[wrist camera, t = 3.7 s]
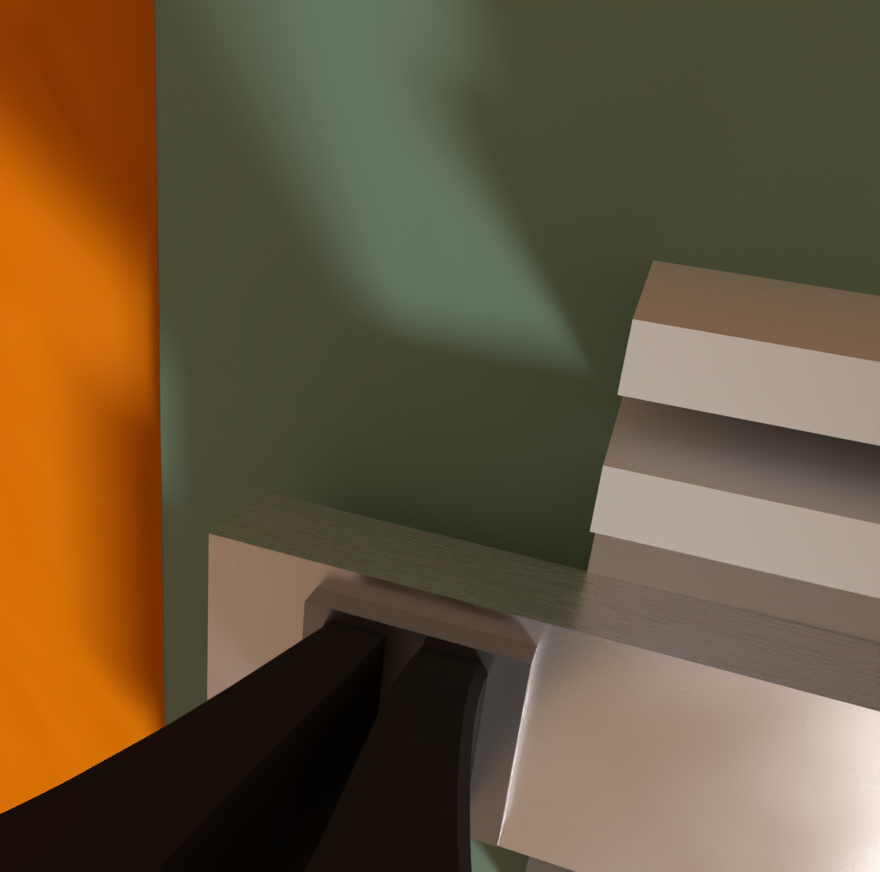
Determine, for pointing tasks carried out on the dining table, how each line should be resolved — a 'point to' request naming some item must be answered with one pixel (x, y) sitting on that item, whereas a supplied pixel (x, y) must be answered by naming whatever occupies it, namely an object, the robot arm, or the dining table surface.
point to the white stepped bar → (583, 693)
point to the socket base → (527, 290)
